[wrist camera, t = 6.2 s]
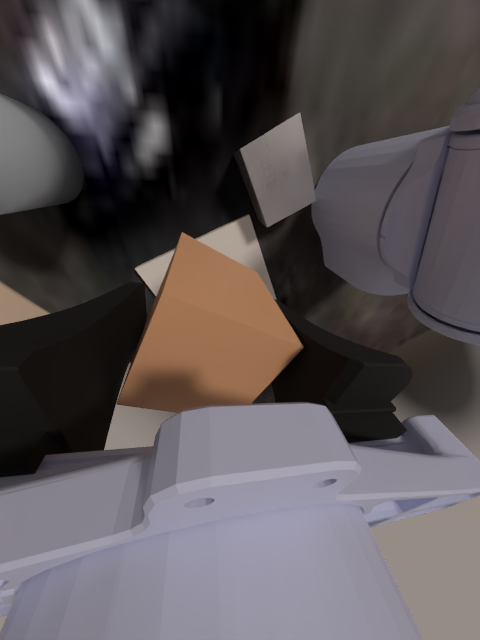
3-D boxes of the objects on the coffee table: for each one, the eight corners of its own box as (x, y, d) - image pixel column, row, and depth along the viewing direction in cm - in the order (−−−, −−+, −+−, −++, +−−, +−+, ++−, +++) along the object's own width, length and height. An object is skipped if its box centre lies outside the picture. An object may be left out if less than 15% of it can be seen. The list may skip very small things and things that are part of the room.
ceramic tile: (279, 310, 23) (280, 312, 23) (196, 344, 24) (196, 348, 24) (247, 213, 17) (249, 214, 16) (136, 266, 18) (134, 268, 17)
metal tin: (299, 197, 17) (316, 200, 15) (258, 220, 17) (267, 227, 15) (282, 123, 14) (300, 112, 12) (233, 154, 15) (240, 149, 12)
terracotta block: (257, 272, 13) (304, 347, 7) (221, 329, 15) (234, 420, 9) (181, 232, 10) (162, 292, 5) (153, 304, 13) (116, 404, 7)
